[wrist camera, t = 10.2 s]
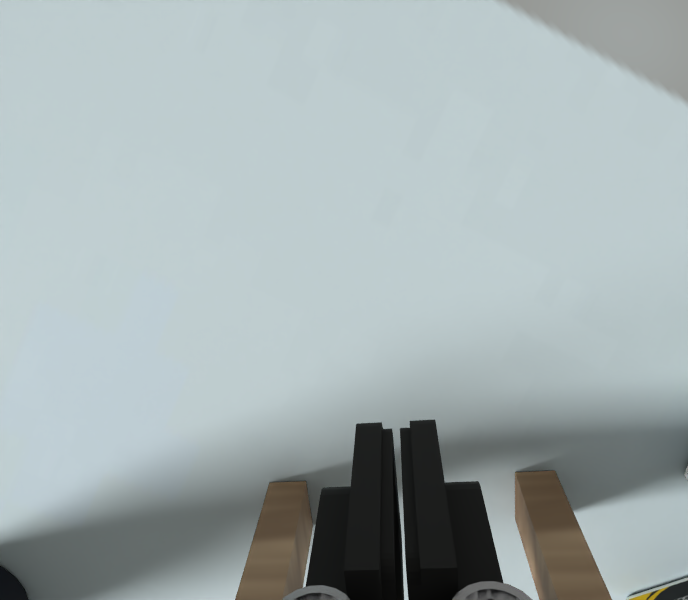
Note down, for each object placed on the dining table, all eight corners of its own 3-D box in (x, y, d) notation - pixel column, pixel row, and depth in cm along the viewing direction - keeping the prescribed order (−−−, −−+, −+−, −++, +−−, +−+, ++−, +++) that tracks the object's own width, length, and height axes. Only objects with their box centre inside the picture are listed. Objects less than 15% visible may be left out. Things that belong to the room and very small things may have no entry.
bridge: (269, 482, 31) (221, 646, 22) (554, 470, 29) (630, 641, 20) (277, 526, 32) (234, 701, 23) (553, 517, 30) (625, 700, 21)
